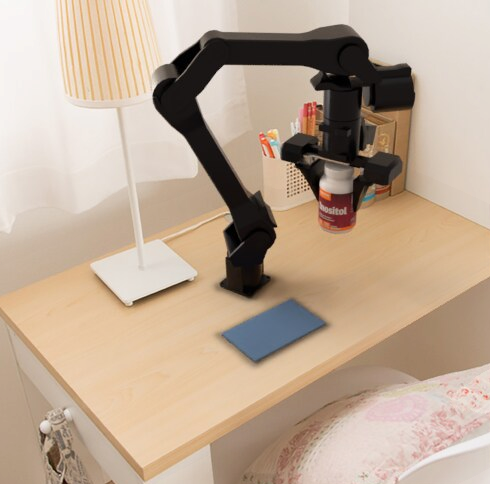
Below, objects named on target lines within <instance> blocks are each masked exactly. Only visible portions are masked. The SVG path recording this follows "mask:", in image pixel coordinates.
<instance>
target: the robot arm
mask: <svg viewBox="0 0 490 484" xmlns="http://www.w3.org/2000/svg"><path fill="white" fill-rule="evenodd" d="M224 66H266V67H267V66H269V67H270V66H272V67H274V66H279V67H280V66H283V67H289V66H290V67H306V68H310V69H313V70H316V71H318V72H317V73H316V74H315V75H314V76H312V77H311V78H310V79H309V83H310V84H311V86H312V88H313V90H314V91H316V92H323V95H322V97H323V98H322V100H323V101H322V121H321V122H320V123H319V124H318V132H322V134H321V135H322V136H321V137H322V139H321V140H322V141H321V145H320V139H319V138H318V136H316V135H313V134H312V135H311V134H307V133H302V132H296V133H294V135H292V136H291V137H290V138H288V139H287V140H285V141H284V142H282V143H281V145H280V149H279V153H280V154H279V155H280V160H281V161H283V162H287V163H291V164H294V168H295V169H297V170H299V171H300V173H301V175H302V176H303V178H304V179H305V181H306V182H307V185H308V186H309V188H310V189H311V191H312V193H313V196H314V197H315V199H316V202H317V203H319V183H320V179H321V177H322V176H323V175H324V174H325V172H324V170H325V163H326V162H327V161H331V162H335V163H339V164H343V165H347V166H351V167H355V168H356V169H359V174H358V175H357V176H355V177H356V178H355V179H354V180H353V210H354V212H359V210H360V208H361V206H362V204H363V202H364V199H365V197H366V195H367V193H368V191H369V189H370V187H372V186H374V185H378V186H382V187H387V186H389V185H391V184H392V182H394V181H395V180H396V179H397V178H398V177H399V175H400V174H401V173H403V167H404V166H403V165H404V162H403V160H402V158H401V156H400V155H398V154H393V153H390V152H385V151H382V150H378V151H377V152H376V153H374V155H372V156H366V155H360V152H365V151H366V150H367V146H368V145H370V146H374V141H375V137H376V132H377V128H378V126H377V125H376V124H372V123H369V122H366V120H365V117H364V116H362V108H363V107H362V106H363V105H364V107H366V108H370V111H371V113H373V114H380V113H392V112H403V111H411V110H412V109H413V108H414V105H415V101H416V91H415V86H414V79H413V76H412V69H413V67H411V66H410V65H409V64H408V62H403V63H401V62H400V63H397V64H394V65H381V66H376V65H375V64H374V63H373V61H371V60H370V49H369V45H368V43H367V42H366V41H365V39H364V38H363V37H362V36H361V35H360V34H359V33H358V31H356V29H354V28H353V27H352V26H351V25H348V24H344V23H339V24H333V25H327V26H326V25H325V26H320V27H317V28H314V29H312V30H309V31H304V32H249V31H248V32H247V31H245V32H243V31H221V30H218V29H212V30H211V29H210V30H208V31H206V32H204V33H203V34H202V36H201V37H200V38H199V39H198V40H196V41H195V42H194V43H193V44H192V45H190V46H188V47H186V48H185V49H184V50H182V51H181V52H180V53H178V55H177V56H175V58H173V59H172V60H171V61H170V63H165V64H161V65H159V66H158V67H157V68H156V69H155V70H153V72H152V74H151V76H150V81H149V85H150V91H151V92H150V93H151V100H152V104H153V107H154V108H155V110H156V112H157V113H158V114H159V115H160V116H161V117H162V118H163V119H164V120H165V122H166V123H167V124H168V125H169V126H170V127H171V128H172V129H174V130H175V131H176V132H177V133H179V134H180V135H181V136H182V137H183V138H184V139H185V141H186V143H187V144H188V146H189V147H190V150H191V151H192V152H193V154H194V155H195V157H196V158H197V161H198V162H199V163H200V165H201V167H202V169H203V170H204V172H205V173H206V175H207V176H208V177H209V180H210V181H211V182H212V184H213V186H214V187H215V189H216V191H217V192H218V194H219V195H220V197H221V199H222V200H223V202H224V203H225V205H226V206H227V208H228V210H229V213H230V216H231V219H232V221H231V222H230V223H229V224H228V225H227V226H226V227H225V228H224V229H223V230H222V234H223V238H224V242H225V246H226V247H225V248H226V256H225V257H224V260H225V262H224V263H225V278H223V279H222V280H221V281H220V282H219V287H220V288H224V289H225V290H228V291H231V292H233V293H236V294H239V295H242V296H244V297H247V298H252V297H254V295H256V294H257V293H258V292H259V291H260V290H262V288H263V287H265V286H266V285H267V284H268V283H270V282H271V280H272V277H271V276H270V275H268V274H265V273H264V272H265V265H264V264H265V261H264V260H265V258H266V255H267V253H268V250H269V249H271V248H272V246H273V245H274V244H275V242H276V239H277V233H276V229H277V228H278V224H277V222H276V221H277V220H276V219H275V216H274V213H273V210H272V208H271V206H270V205H269V204H267V203H266V202H265V199H264V197H263V195H262V191H261V190H260V189H258V190H257V191H256V192H254V193H252V192H251V191H249V190H248V189H247V187H246V186H245V185H244V184H243V182H242V180H241V178H240V175H238V173H237V171H236V170H235V168H234V167H233V164H232V163H231V162H230V159H229V158H228V155H227V154H226V152H225V151H224V149H223V148H222V146H221V144H220V142H219V141H218V139H217V138H216V136H215V134H214V132H213V130H212V129H211V128H210V126H209V124H208V122H207V121H206V119H205V117H204V115H203V112H202V109H201V106H200V103H199V101H198V98H197V97H198V96H199V95H200V94H202V93H203V91H204V90H205V89H206V88H207V86H208V85H209V83H210V82H211V81H212V79H213V78H214V77H215V75H216V74H217V73H218V72H219V71H220V70H221V69H222V68H223V67H224Z"/></svg>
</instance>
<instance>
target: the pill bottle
mask: <svg viewBox="0 0 490 484" xmlns="http://www.w3.org/2000/svg"><path fill="white" fill-rule="evenodd" d="M355 170H356V169H355V167H351V166H347V165H343V164H339V163H335V162H331V161H327V160H326V162H325V165H324V175H323V176H322V177H321V179H320V183H319V202H318V214H317V215H318V221H317V222H318V223H317V224H318V227H319V229H320V230H322V231H323V232H325V233H328V234H332V235H343V234H347V233H350V232H352V231H353V230H354V229H355V227H356V225H357V212H358V211H357V212H354V210H353V180H354V179H355V178H356V177H357V176H356V175H355Z"/></svg>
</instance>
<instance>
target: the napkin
mask: <svg viewBox="0 0 490 484" xmlns="http://www.w3.org/2000/svg"><path fill="white" fill-rule="evenodd" d="M326 325H327V322H326V321H324V320H323V319H321V318H320V317H318V315H315V314H314V313H312V312H311V311H309V310H308V309H306V308H305V307H304V306H303V305H301V304H300V303H298V302H297V301H295V300H294V299H293V298H290V299H287V300H286V301H283V302H282V303H279V304H278V305H275V306H274V307H272V308H270V309H268V310H266V311H263V312H261V313H260V314H258V315H256V316H254V317H251V318H249V319H248V320H246V321H243V322H242V323H239V324H237V325H235V326H233V327H231V328H230V329H228V330H227V329H226V330H225V331H223V332H222V333H221V336H222V337H223V338H224V339H226V340H227V341H228V342H229V343H230V344H231V345H233V346H234V347H235V348H237V350H239V351H240V352H241V353H242V354H244V356H246V357H247V358H249V359H250V360H251V361H252V362H253V363H255V364H256V363H257V362H260V361H261V360H264V359H265V358H267V357H269V356H270V355H272V354H274V353H276V352H278V351H280V350H281V349H284V348H285V347H288V346H289V345H291V344H293V343H294V342H297V341H298V340H301V339H302V338H304V337H306V336H308V335H310V334H312V333H313V332H315V331H317V330H319V329H321V328H322V327H325V326H326Z"/></svg>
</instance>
